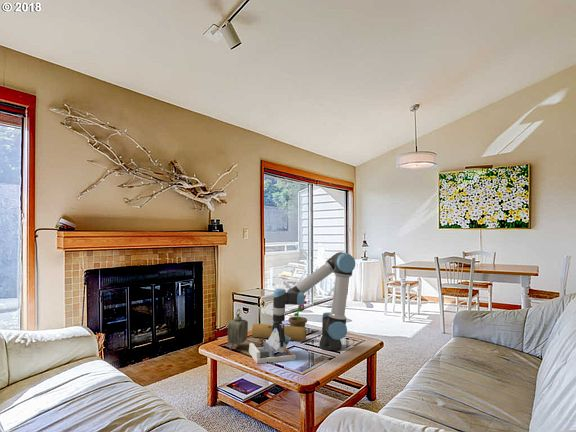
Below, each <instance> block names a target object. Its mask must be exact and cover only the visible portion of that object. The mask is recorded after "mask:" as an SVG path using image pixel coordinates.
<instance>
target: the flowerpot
mask: <svg viewBox="0 0 576 432" xmlns="http://www.w3.org/2000/svg"><path fill="white" fill-rule="evenodd" d="M306 297H307V295H306V294H304V304H303V305H297V310H296V311H297V312H296V313H294V316H292V317H289V318H288V323H289V326H294V327H304V328H306V324H307V322H308V319H307V317H303V316H299V313H301V312H303V311H305V305H306V304H307V301H306V299H307V298H306Z"/></svg>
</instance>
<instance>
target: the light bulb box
mask: <svg viewBox="0 0 576 432" xmlns="http://www.w3.org/2000/svg"><path fill="white" fill-rule="evenodd" d="M290 339H291V337H289V336H288V335H287V334H285V341H284V347H283V352H280V353H281V354H283V353H284V352H285V351H284V350H285V348H287V346H288V344H289V342H290V341H291V340H290ZM282 340H283V339H282ZM279 341H280V339H279V333H278V331H277V329H276V328H274V330H273V332H272V334H271V336H270V338H267V341H266V342H267V344H269V345H270V346H271V347H273V348H274V349H275V350H274V351H277V352H279Z"/></svg>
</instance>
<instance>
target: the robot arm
mask: <svg viewBox="0 0 576 432" xmlns="http://www.w3.org/2000/svg"><path fill="white" fill-rule="evenodd" d="M355 268H356V259H355V258H354V257H353V255H351V254H350V253H346V252H343V251H340V252H339V251H338V252H336V253H335V254H334V255H332V256H331V257H330V258H328V259H326V261H325V263H324V264H323V265H322V266H320V267H319V268H317V269H316V270H315V271H313V272H312V273H311V274H309V275H308V276H307V277H305V278H304V279H302V280H301V281H299V283H297V284H296V285H295V286H293V287H291V288H289V289H287V291H286V289H285V288H275V289H274V290H273V297H272V298H273V299H272V300H273V302H272V303H273V304H272V306H273V307H272V309H271V310H272V321H273V322H272V325H273V327H272V332H273V330H274V328H276V329H277V331H278V333H279V339H280V341H279V351H278V353H281V352H283V347H284V341H285V333H284V326H285V324H283V322H284V321H285V319H286V315H285V314H286V305H291V306H292V305H296V306H299V305H303V304H304V301H305V300H304V295H305V293H307V292H308V291H309V290H311V289H312V288H314V287H315V286H316V285H317V284H319V283H320V282H322V280H324V279H325V278H327V277H328V276H330V275H331V274H334V275H335V279H334V287H333V295H332V296H333V297H332V302H331V303H332V304H331V309H330V310H331V312H323V313H322V317H321V318H322V322H321V323H322V325H321V330H322V332H321V337H320V340H319V342H318V347H319V348H320V349H321V350H324V351H328V350H337V351H339V350H338V349H341V348H343V344H342V341H341V340H342V339H344V338H345V337H346V336H347V333H348V327H347V316H346V314H345V313H346V307H347V306H346V305H347V298H348V290H349V282H350V277H352V276H353V271H354V269H355ZM304 305H305V304H304ZM282 339H283V340H282ZM341 350H342V349H341ZM283 353H284V352H283Z"/></svg>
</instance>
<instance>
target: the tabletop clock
mask: <svg viewBox="0 0 576 432" xmlns="http://www.w3.org/2000/svg"><path fill="white" fill-rule="evenodd" d="M238 312H239V313H238ZM235 315H236V316H235V317H234V318H233V319H231V320H230V321H228V326H227V327H228V328H227V343H228V344H232V345H231V347H229V350H231V351H232V350H233V347H234V345H236V346H237V345H239V348H240V349H242V346H243V345H242V344H243V343H245V341H247V339H248V334H249V333H248V331H249V325H248V324H249V323H248V320H246V319H244V318H242V317H241V316H240V315H241V309H237V310H236V312H235Z"/></svg>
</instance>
